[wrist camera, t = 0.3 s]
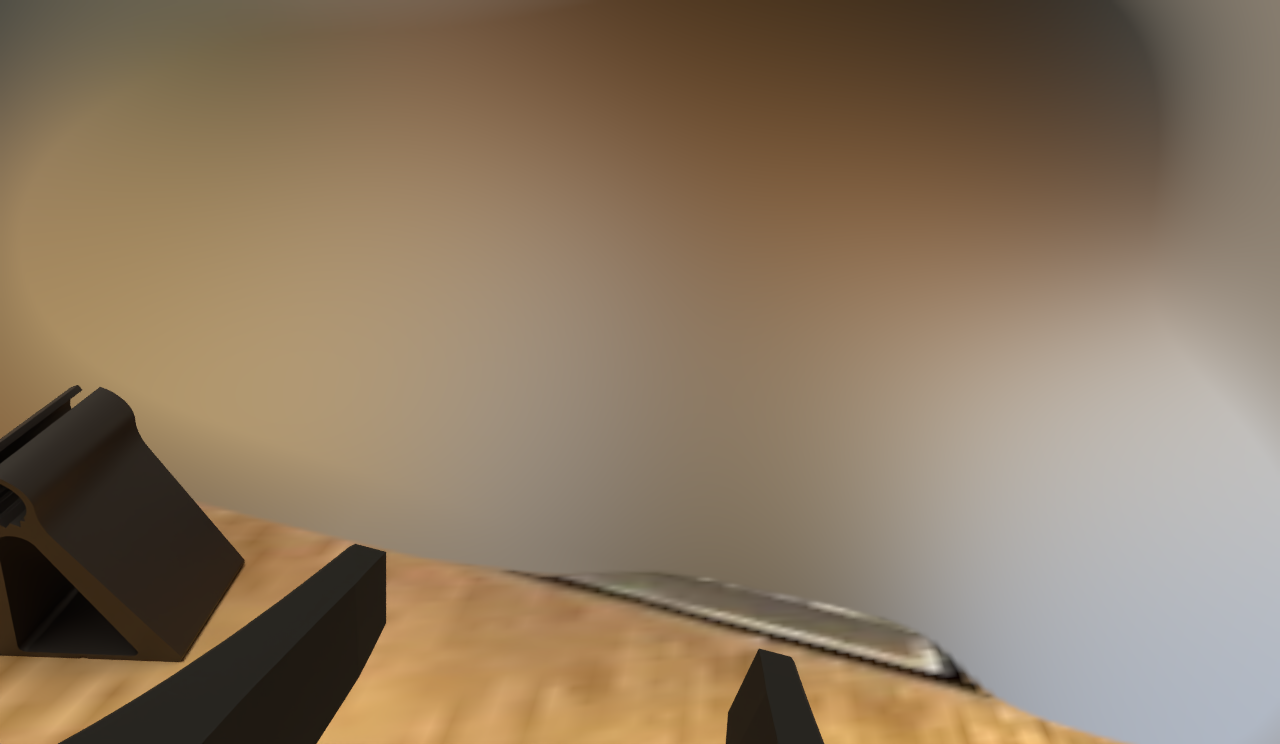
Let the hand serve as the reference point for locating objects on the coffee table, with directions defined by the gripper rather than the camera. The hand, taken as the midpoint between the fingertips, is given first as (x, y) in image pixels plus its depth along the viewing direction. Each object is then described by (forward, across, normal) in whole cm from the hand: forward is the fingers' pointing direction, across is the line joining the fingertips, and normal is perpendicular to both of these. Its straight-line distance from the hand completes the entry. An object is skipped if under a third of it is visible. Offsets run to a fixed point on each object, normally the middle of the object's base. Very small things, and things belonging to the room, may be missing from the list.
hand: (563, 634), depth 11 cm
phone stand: (+11, +23, +21) cm, 33 cm away
